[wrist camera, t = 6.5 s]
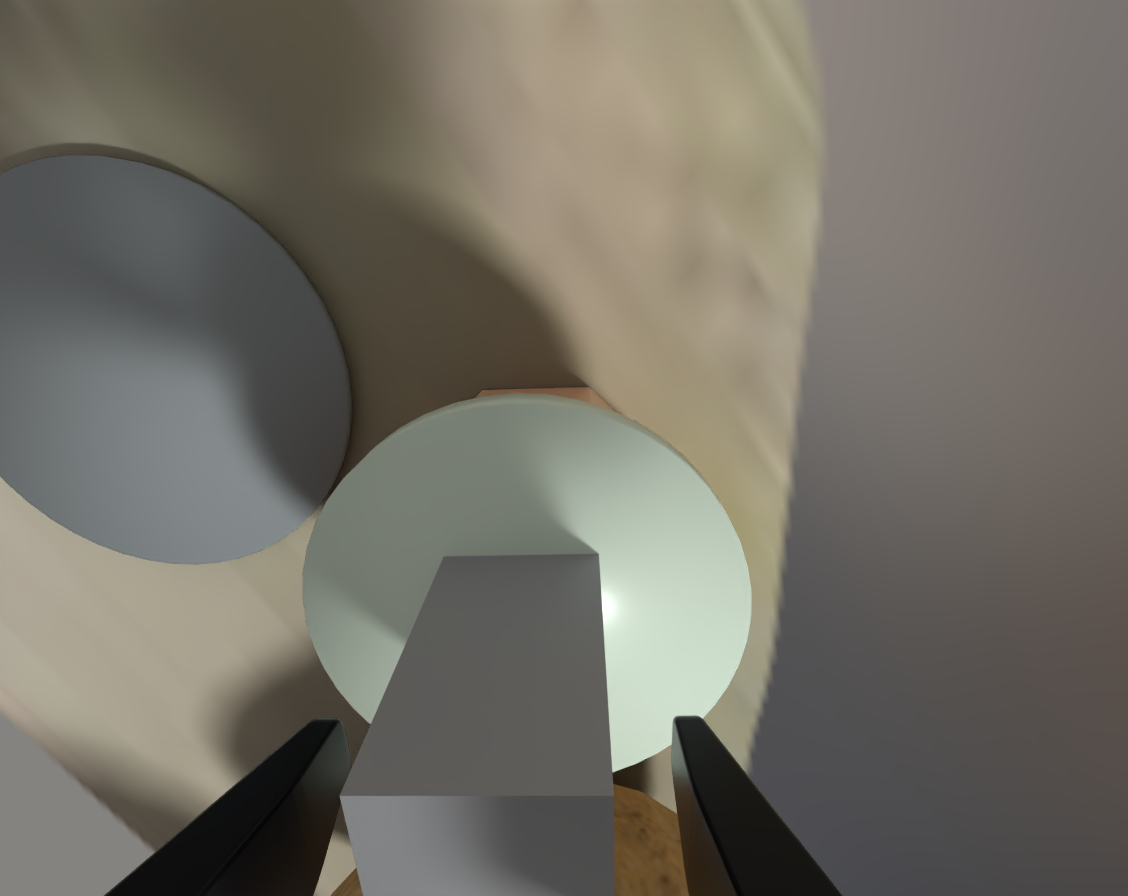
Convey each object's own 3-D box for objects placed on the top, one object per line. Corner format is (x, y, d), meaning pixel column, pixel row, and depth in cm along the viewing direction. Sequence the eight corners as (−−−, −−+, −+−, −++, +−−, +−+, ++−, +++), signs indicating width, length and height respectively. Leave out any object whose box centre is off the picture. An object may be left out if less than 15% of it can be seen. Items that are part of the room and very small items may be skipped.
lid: (726, 753, 13) (826, 1100, 8) (356, 754, 14) (209, 1090, 8) (757, 386, 10) (956, 545, 5) (280, 399, 11) (-33, 562, 5)
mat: (379, 554, 17) (375, 560, 17) (30, 560, 17) (18, 567, 17) (310, 146, 13) (302, 143, 13) (-133, 167, 14) (-153, 165, 13)
